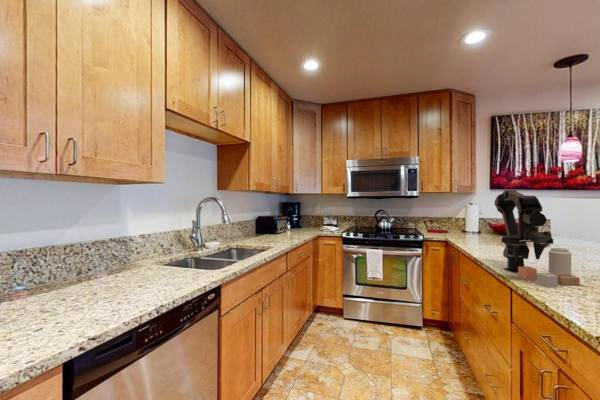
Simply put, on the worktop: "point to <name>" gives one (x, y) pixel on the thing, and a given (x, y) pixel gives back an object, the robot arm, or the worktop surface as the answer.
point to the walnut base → (567, 279)
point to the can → (559, 261)
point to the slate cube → (547, 280)
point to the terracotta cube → (527, 272)
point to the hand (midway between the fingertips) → (527, 259)
